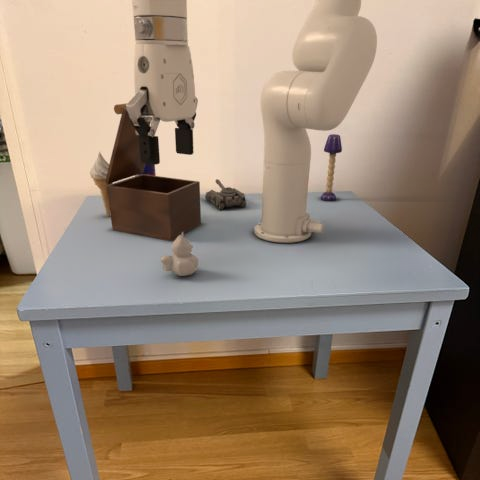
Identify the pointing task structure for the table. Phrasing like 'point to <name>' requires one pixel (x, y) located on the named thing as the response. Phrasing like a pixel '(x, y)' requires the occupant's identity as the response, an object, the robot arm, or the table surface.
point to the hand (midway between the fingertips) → (168, 158)
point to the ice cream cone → (101, 179)
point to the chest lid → (125, 150)
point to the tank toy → (225, 197)
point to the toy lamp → (331, 164)
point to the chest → (155, 206)
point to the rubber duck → (180, 258)
